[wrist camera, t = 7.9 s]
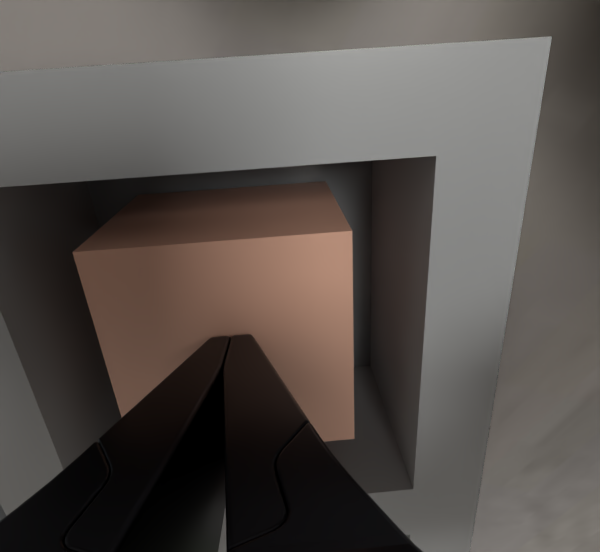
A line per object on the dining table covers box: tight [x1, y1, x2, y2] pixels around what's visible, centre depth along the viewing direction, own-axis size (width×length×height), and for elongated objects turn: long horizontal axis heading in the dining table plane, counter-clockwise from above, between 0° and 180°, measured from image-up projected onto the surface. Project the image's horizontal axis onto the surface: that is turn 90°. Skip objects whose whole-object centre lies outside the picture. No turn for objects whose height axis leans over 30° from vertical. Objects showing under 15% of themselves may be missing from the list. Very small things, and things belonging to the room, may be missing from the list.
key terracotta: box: [72, 181, 354, 442], centre depth 11 cm, size 5×5×4 cm
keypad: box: [0, 36, 552, 552], centre depth 13 cm, size 20×20×5 cm
